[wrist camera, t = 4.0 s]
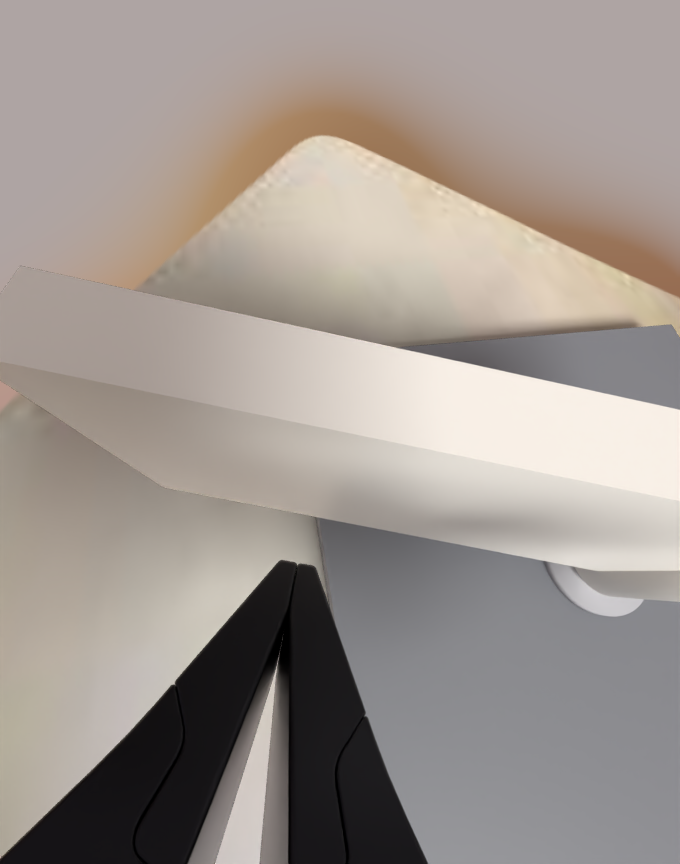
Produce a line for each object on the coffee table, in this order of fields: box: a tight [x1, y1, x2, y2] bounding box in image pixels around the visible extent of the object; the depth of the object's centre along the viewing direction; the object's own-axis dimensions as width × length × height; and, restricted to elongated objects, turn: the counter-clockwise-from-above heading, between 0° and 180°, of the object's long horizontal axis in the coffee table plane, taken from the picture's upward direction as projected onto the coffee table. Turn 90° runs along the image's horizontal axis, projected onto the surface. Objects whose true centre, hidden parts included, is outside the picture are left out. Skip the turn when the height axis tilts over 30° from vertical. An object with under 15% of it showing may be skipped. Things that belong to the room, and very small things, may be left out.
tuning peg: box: [0, 266, 680, 602], centre depth 9 cm, size 28×3×10 cm, turn 80°
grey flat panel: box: [316, 325, 680, 864], centre depth 15 cm, size 22×22×2 cm
